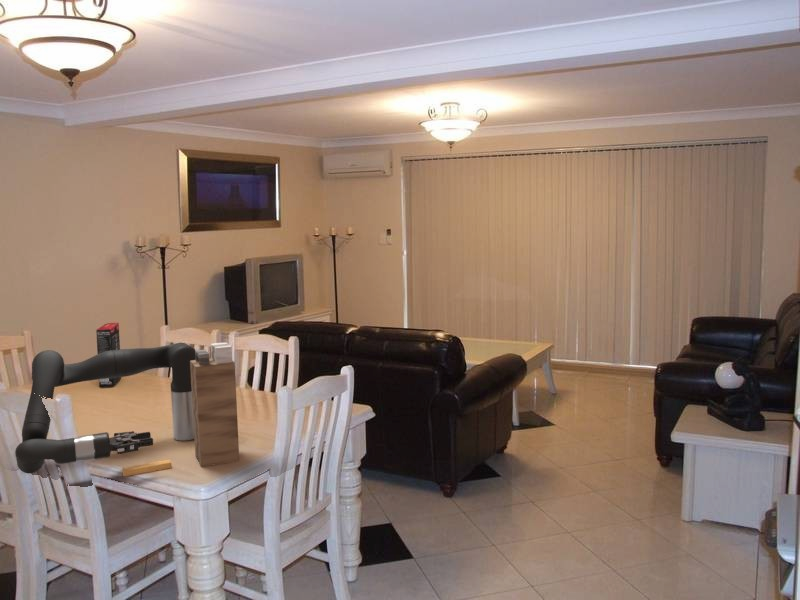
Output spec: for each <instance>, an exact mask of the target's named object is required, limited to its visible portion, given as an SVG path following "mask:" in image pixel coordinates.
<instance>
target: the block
mask: <svg viewBox="0 0 800 600" xmlns="http://www.w3.org/2000/svg"><path fill="white" fill-rule="evenodd" d="M171 468H172V462H171V459H163V460H159V461H153V462H148V463H140V464H136V465H131V466H124V467H122V470H121V471H122V475H123V477H128V476H134V475H135V476H136V475H140V474H146V473H150V472H151V473H152V472H156V470H157V471H162V469H163V470H168V469H171Z"/></svg>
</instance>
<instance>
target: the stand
mask: <svg viewBox="0 0 800 600" xmlns="http://www.w3.org/2000/svg"><path fill="white" fill-rule="evenodd" d="M195 358H196V360H191V361H190V369H191V387H192V405H193V423H194V439H193V440H194V452H195V453H194V456H195V459H196V461H197V460H198V461H197V463H198V462H199V463H198V464H199V466H200V468H203V466H204V467H209V465H210V466H214V465H213V464H216V465H221V464H220V463H222V464H227V463H226V462H228V463H233V461H234V462H238V461H240V446H239V444H240V443H239V426H238V425H239V424H238V421H239V420H238V403H237V402H238V401H237V385H236V384H237V383H236V363H235V361H233V347H232V346H231V344H229V343H228V342H215V343H210V353H209V352H208V351H207V350H206V349H198V350H197V349H195Z"/></svg>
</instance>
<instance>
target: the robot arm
mask: <svg viewBox="0 0 800 600" xmlns="http://www.w3.org/2000/svg"><path fill="white" fill-rule="evenodd" d="M195 350H196V349H195V347H192V346H191V345H189V344H188V343H185V342H177V343H171V344H168V345H162V346H158V347H157V346H155V347H140V348H139V347H137V348H124V349H123V348H120V350H110V351H105V352H102V353H100V354H98V353H97V354H96V355H93V356H91V357H89V358H87V359H85V360H83V361H80V362H76V363H74V362H73V363H67V364H65V362H64V361H65V360H64V358H63V356H62V355H61V354H60V353H59V352H57V351H56V350H51V349H49V350H42V351H40V352H39V353H37V354H36V355H35V356H34V357H33V359H32V361H31V380H32V383H31V385H32V386H31V391H30V395H29V399H28V404H27V408H26V412H25V416H24V419H23V424H22V429H21V438H22V439H21V442H20V443H19V444H18V445H17V446H16V448H15V451H14V454H15V458H16V464H17V467H18V469H19V470H20V471H21V472H23V473H24V474H34V473H36V472H38V471H39V470H40V469H41V468H42V467H43V466H44V464H45V460H52V461H53V462H54V463H55V464H58V465H61V464H63V465H64V464H70V463H76V462H89V461H96V460H101V459H108V458H110V457H111V452H117V455H123V454H128V453H133V452H139V449H141V448H144V447H148V446H149V447H152V446H153V445H154V439H153V437H152V436H151V435H152V434H151V432H150V431H144V432H135V431H133V430H132V431H124V432H115V433H113V436H112V437H110V434H109V432H108V431H107V432H106V431H105V432H99V433H94V434H85V435H80V436H77V437H71V438H70V437H69V438H64V439H53V438H48V435H49V431H50V426H51V425H50V424H51V419H52V418H51V419H50V417H49V415H48V411H47V410H46V408H45V405H44V404H43V402H42V398H44V397H46V398H45V399H47V398H51V399H53V400H54V393H55V388H56V387H57V388H59V387H63V386H68V385H72V384H77V383H81V382H87V381H88V382H90V381H97V380H98V381H99V379H106V378H117V377H121V378H124V377H125V378H126V377H130V376H134V375H138V374H140V373H144V372H146V371H149V370H150V371H151V370H153V369H165V368H167V369H168V368H171V377H172V378H171V382H170V395H171V396H170V397H171V410H172V411H171V413H172V429H173V430H172V432H173V439H174V440H176V441H191V440H194V423H193V405H192V387H191V369H190V361H191V360H196V358H195ZM34 393H35V394H34ZM39 395H40V396H39ZM43 396H44V397H43ZM41 397H42V398H41ZM47 438H48V439H47Z"/></svg>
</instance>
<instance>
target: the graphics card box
mask: <svg viewBox="0 0 800 600" xmlns="http://www.w3.org/2000/svg"><path fill="white" fill-rule="evenodd" d="M95 331H96V332H95V333H96V347H97V355H98V354H100V353H102V352H105V351H110V350H120V349H121V345H120V344H121V342H120V324H119V322H107V323H105V324H103V325H102V326H100V327H99V328H97V329H95ZM120 380H122V377H117V378H106V379H98V387H99V388H115V387H114V386H115V385H117V384H118V383H119V382H120Z"/></svg>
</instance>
